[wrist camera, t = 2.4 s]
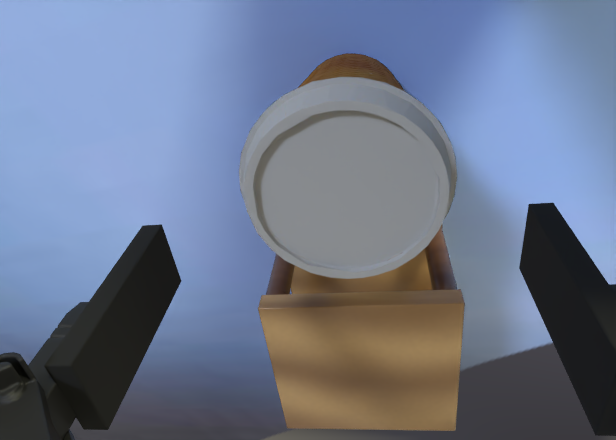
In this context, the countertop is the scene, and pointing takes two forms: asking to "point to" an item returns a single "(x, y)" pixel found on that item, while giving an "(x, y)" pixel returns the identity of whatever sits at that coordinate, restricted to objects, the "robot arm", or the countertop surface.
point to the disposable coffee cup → (348, 172)
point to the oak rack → (367, 345)
